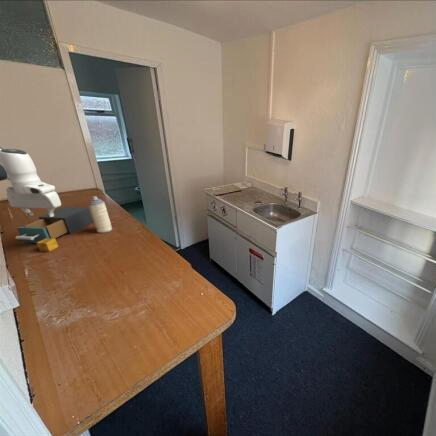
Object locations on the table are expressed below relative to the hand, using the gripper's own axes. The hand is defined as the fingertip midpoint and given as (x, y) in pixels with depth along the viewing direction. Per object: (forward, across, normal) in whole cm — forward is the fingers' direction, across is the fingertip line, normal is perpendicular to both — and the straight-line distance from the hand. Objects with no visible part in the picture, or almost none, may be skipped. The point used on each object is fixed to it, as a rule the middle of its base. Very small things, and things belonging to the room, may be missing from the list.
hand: (41, 216), depth 108 cm
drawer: (+15, -9, +6) cm, 18 cm away
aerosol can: (+16, +12, +18) cm, 27 cm away
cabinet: (+16, -9, +20) cm, 27 cm away
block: (+16, +1, -3) cm, 16 cm away
